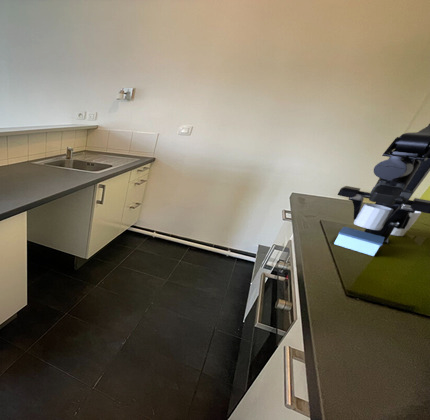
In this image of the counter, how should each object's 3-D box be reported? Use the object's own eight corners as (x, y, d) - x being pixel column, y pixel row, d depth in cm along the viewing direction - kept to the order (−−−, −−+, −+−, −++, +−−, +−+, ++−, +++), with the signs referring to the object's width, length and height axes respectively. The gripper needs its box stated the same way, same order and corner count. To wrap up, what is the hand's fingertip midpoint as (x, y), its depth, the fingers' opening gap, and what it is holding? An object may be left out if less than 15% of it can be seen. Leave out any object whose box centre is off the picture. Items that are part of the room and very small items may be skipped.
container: (337, 237, 90) (343, 226, 88) (377, 249, 83) (384, 237, 81) (332, 243, 85) (339, 232, 83) (374, 256, 78) (382, 244, 76)
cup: (354, 221, 85) (365, 202, 82) (382, 227, 80) (394, 208, 78) (352, 224, 82) (363, 205, 79) (380, 231, 77) (392, 211, 74)
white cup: (412, 238, 92) (429, 214, 89) (387, 235, 94) (402, 211, 90) (390, 229, 100) (405, 206, 96) (367, 226, 101) (381, 204, 97)
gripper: (346, 172, 77) (323, 217, 83) (452, 188, 63) (415, 241, 69) (352, 169, 83) (330, 211, 89) (449, 183, 69) (416, 232, 75)
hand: (368, 222), depth 80 cm, fingers closed on cup, 6 cm apart
